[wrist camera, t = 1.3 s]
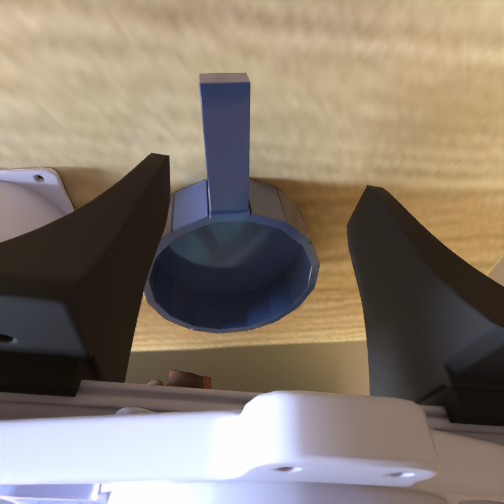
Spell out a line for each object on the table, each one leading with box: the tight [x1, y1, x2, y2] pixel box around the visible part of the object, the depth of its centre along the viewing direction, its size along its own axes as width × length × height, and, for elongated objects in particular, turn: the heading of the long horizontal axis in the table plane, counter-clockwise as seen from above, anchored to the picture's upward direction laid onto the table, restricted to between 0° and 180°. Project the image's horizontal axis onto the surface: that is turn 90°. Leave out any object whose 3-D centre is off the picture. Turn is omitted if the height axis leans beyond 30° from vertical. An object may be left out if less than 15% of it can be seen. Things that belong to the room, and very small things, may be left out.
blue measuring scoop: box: [144, 73, 320, 333], centre depth 22 cm, size 19×12×4 cm, turn 179°
